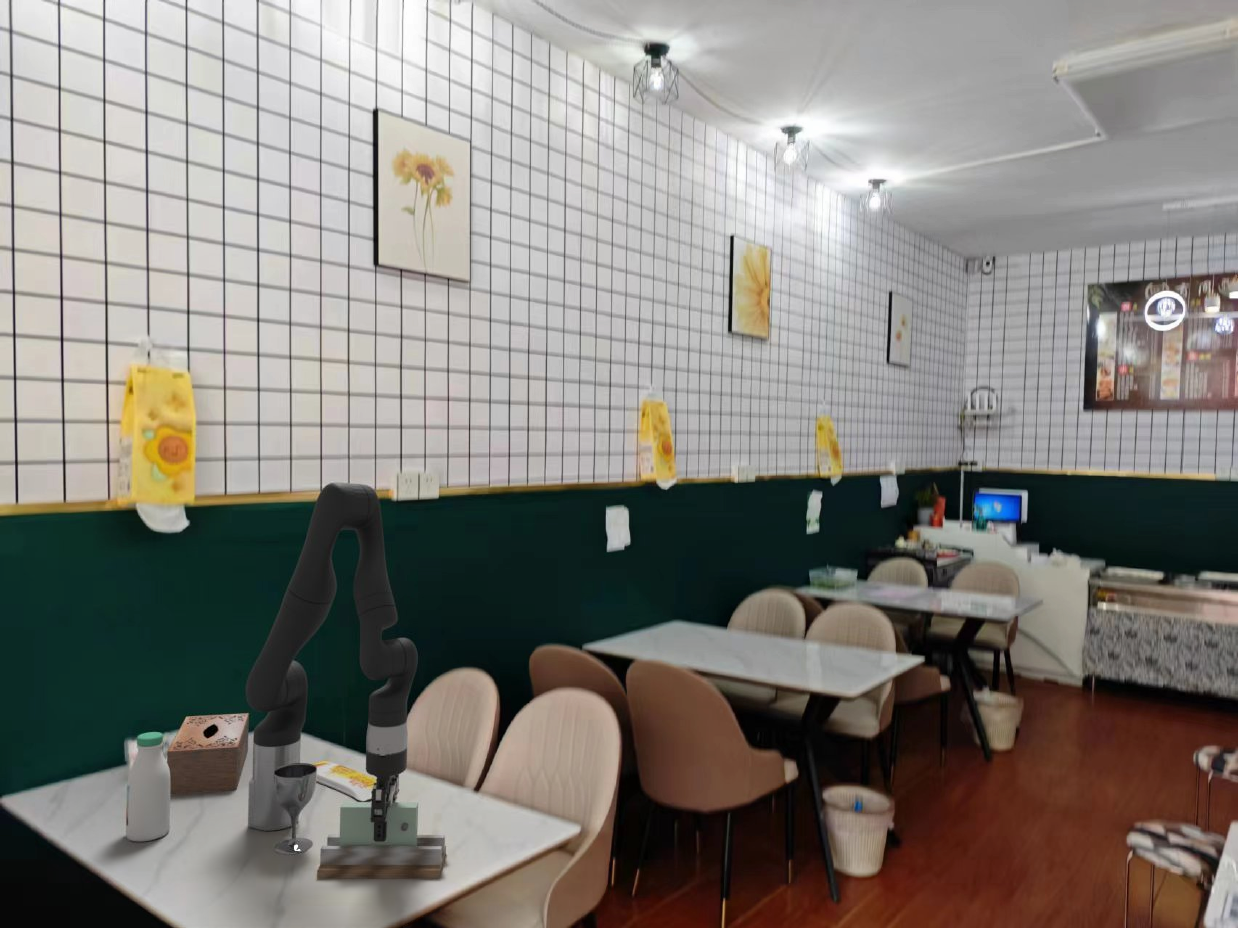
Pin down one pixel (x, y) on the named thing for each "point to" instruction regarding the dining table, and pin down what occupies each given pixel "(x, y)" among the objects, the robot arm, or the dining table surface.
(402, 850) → the door track
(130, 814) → the milk bottle
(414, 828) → the door panel
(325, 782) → the food package
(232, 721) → the tissue box cover
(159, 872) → the dining table surface
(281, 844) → the wine glass
